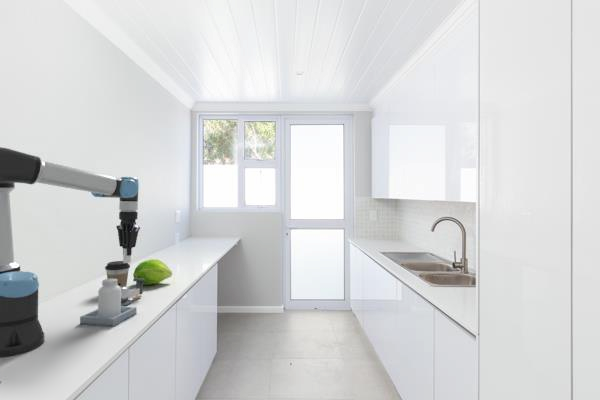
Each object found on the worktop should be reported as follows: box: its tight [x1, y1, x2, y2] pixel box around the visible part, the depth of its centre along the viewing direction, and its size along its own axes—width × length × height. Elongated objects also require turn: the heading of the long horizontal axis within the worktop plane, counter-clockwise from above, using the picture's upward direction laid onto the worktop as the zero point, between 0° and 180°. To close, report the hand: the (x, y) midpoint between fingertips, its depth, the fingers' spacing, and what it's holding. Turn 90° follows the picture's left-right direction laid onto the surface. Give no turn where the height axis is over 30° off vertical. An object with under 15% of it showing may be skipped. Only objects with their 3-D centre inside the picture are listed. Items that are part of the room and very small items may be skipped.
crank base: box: [121, 294, 142, 307], centre depth 159 cm, size 16×7×1 cm, turn 171°
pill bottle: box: [97, 278, 121, 318], centre depth 137 cm, size 8×8×15 cm
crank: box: [121, 277, 146, 303], centre depth 160 cm, size 15×6×8 cm, turn 165°
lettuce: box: [132, 258, 173, 286], centre depth 190 cm, size 15×20×14 cm
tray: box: [79, 306, 137, 327], centre depth 137 cm, size 14×14×3 cm
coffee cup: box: [104, 260, 131, 287], centre depth 174 cm, size 11×11×15 cm
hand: (126, 262), depth 156 cm, fingers closed
